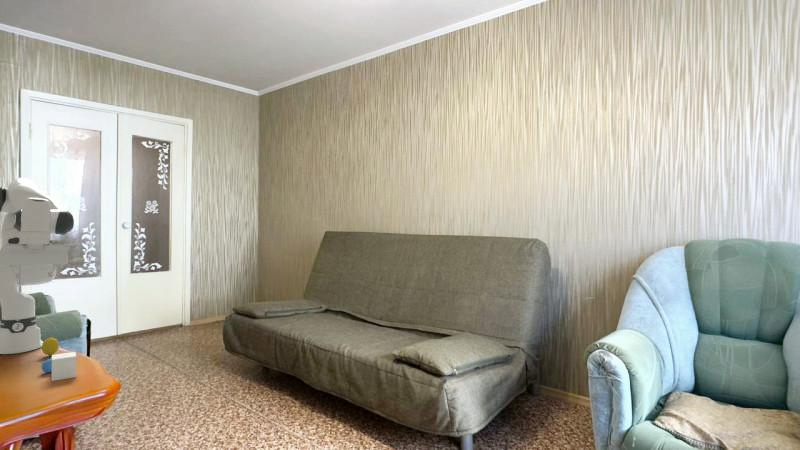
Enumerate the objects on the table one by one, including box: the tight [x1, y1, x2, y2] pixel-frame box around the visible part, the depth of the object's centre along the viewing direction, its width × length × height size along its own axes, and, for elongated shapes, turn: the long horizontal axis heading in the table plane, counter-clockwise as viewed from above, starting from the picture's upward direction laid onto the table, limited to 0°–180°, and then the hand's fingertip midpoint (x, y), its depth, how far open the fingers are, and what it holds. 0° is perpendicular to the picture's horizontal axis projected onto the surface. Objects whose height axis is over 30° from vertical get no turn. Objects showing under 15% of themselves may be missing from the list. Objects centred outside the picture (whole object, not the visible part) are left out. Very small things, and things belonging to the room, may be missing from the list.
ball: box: [40, 358, 52, 374], centre depth 164 cm, size 5×5×5 cm
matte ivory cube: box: [51, 351, 77, 382], centre depth 161 cm, size 7×7×8 cm
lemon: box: [41, 336, 60, 357], centre depth 184 cm, size 6×6×8 cm
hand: (33, 277), depth 163 cm, fingers open, 8 cm apart
